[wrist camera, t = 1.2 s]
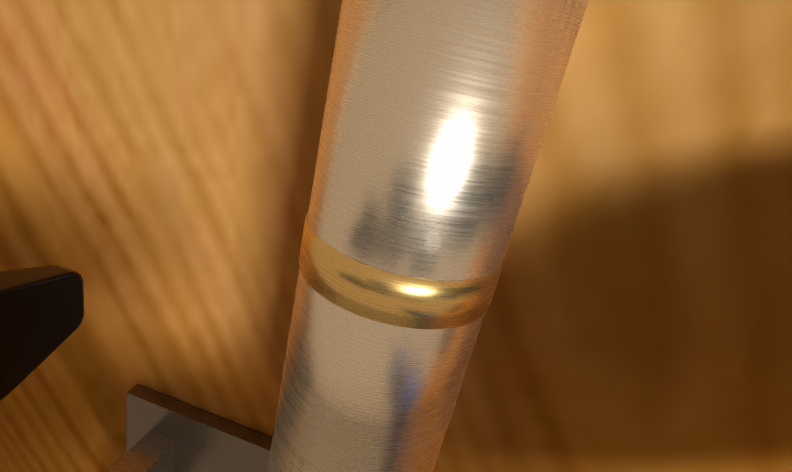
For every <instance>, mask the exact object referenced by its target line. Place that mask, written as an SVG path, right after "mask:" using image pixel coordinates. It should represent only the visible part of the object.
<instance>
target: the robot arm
mask: <svg viewBox="0 0 792 472" xmlns="http://www.w3.org/2000/svg"><path fill="white" fill-rule="evenodd" d="M83 316H84V293H83V279H82V277H81V275H80V274H79V273H78V272H76V271H73V270H71V269H68V268H65V267H62V266H58V265H52V266H43V267H34V268H25V269H16V270H7V271H0V401H1V400H2V399H3V398H4V397H6V396H7V395H8V394H9V393H10V392H11V391H12V390H13V389H14V388H15V387H17V386H18V385H19V384H20V383H21V382H22V381H23V380H24V379H25V378H26V377H27V376H28V375H29V374H30V373H31V372H32V371H33V370H34V369H35V368H36V367H37V366H38V365H40V364H41V363H42V362H43V361H44V360H45V359H46V358H47V357H48V356H49V355H50V354H51V353H52V352H53V351H54V350H55V349H56V348H57V347H58V346H59V345H60V344H61V343H62V342H63V341H64V340H65V339H67V338H68V337H69V336H70V335H71V334H72V333H73V332H74V331H75V330H76V329H77V328H78V326H79V325H80V324H81V322H82V319H83Z"/></svg>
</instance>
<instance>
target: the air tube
mask: <svg viewBox="0 0 792 472" xmlns="http://www.w3.org/2000/svg"><path fill="white" fill-rule="evenodd" d="M588 1H589V0H342V3H341V9H340V15H339V22H338V28H337V34H336V40H335V47H334V53H333V59H332V66H331V72H330V78H329V85H328V91H327V97H326V103H325V110H324V116H323V122H322V129H321V135H320V141H319V148H318V154H317V160H316V166H315V173H314V179H313V185H312V192H311V198H310V204H309V208H308V210H307V212H306V216H305V223H304V229H303V236H302V242H301V248H300V255H299V274H298V280H297V286H296V293H295V299H294V305H293V311H292V318H291V324H290V330H289V337H288V343H287V349H286V356H285V362H284V368H283V374H282V381H281V387H280V393H279V400H278V406H277V412H276V419H275V425H274V431H273V437H272V444H271V450H270V456H269V463H268V470H267V472H433V471H434V467H435V464H436V461H437V458H438V455H439V452H440V449H441V446H442V443H443V440H444V437H445V434H446V431H447V428H448V425H449V422H450V419H451V416H452V413H453V410H454V407H455V404H456V401H457V398H458V395H459V392H460V389H461V386H462V383H463V380H464V377H465V374H466V371H467V367H468V364H469V361H470V358H471V355H472V352H473V349H474V346H475V343H476V340H477V337H478V334H479V331H480V328H481V325H482V322H483V319H484V316H485V313H486V312H487V310H488V308H489V307H490V304H491V301H492V298H493V295H494V292H495V289H496V286H497V283H498V280H499V277H500V274H501V271H502V268H503V265H504V261H505V256H504V255H505V252H506V249H507V246H508V243H509V240H510V237H511V234H512V231H513V228H514V225H515V222H516V219H517V216H518V213H519V210H520V207H521V204H522V201H523V198H524V195H525V192H526V189H527V186H528V183H529V180H530V177H531V174H532V170H533V167H534V164H535V161H536V158H537V155H538V152H539V149H540V146H541V143H542V140H543V137H544V134H545V131H546V128H547V125H548V122H549V119H550V116H551V113H552V110H553V107H554V104H555V101H556V98H557V95H558V92H559V89H560V86H561V83H562V80H563V77H564V74H565V70H566V67H567V64H568V61H569V58H570V55H571V52H572V49H573V46H574V43H575V40H576V37H577V34H578V31H579V28H580V25H581V22H582V19H583V16H584V13H585V10H586V7H587V4H588Z"/></svg>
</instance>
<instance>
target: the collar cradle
mask: <svg viewBox="0 0 792 472" xmlns="http://www.w3.org/2000/svg"><path fill="white" fill-rule="evenodd" d="M271 444H272V438H271V437H269V436H266V435H264V434H261V433H259V432H256V431H254V430H251V429H249V428H246V427H244V426H241V425H239V424H236V423H233V422H231V421H228V420H226V419H223V418H221V417H218V416H216V415H213V414H211V413H208V412H206V411H203V410H201V409H198V408H196V407H193V406H191V405H188V404H186V403H183V402H181V401H178V400H176V399H173V398H171V397H168V396H166V395H163V394H161V393H158V392H156V391H153V390H151V389H148V388H146V387H143V386H141V385H138V384H137V385H136V386H135V387H133V388H132V389H131V390H130V391H129V392H127V420H126V453H125V454H124V455H123V456H122V457H121V458H120V459H119V460H118V461H117V462H116V463H115V464H114V465H113V466H112V467H111V468H110V469H109V470H108V471H107V472H267V470H268V463H269V456H270V450H271Z"/></svg>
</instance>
